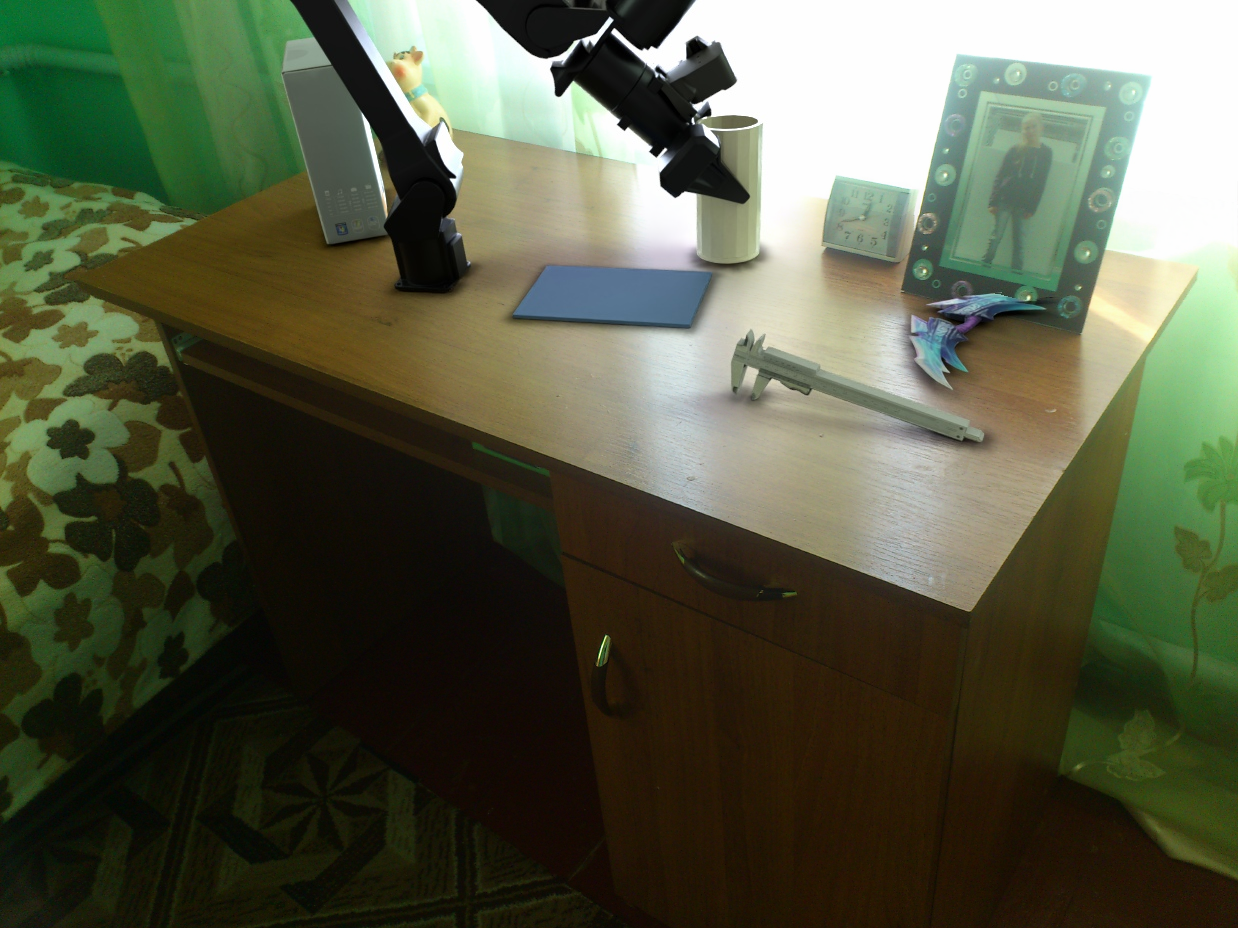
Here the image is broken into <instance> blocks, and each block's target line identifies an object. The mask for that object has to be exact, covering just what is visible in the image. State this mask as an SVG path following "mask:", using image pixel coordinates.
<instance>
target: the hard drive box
mask: <svg viewBox="0 0 1238 928" xmlns="http://www.w3.org/2000/svg"><path fill="white" fill-rule="evenodd" d="M280 74H281V79H282V83H283V87H284V90H285V95H286V98H287V102H288V104H289V108H290V109H289V110H290V112H291V116H292V120H293V124H294V127H295V131H296V135H297V138H298V142H299V146H300V149H301V153H302V157H303V161H304V165H305V168H306V171H307V176H308V180H309V182H310V183H309V184H310V187H311V190H312V194H313V198H314V201H315V205H316V209H317V213H318V217H319V220H320V225H321V227H322V231H323V234H324V238H325V241H326V244H327V245H335V244H340V243H346V242H351V241H358V240H364V239H369V238H375V237H381V236H382V237H383V236H387V235H388V234H387V232H386V230H385V229H384V223H385V221H386V218H387V216H388V214H389V213H388V207H387V199H386V192H385V186H384V182H383V177H382V174H381V170H380V166H379V161H378V156H377V151H376V148H375V142H374V139H373V135H372V132H371V126H370V125H369V123H368V122H367V120H366V118H365V117H364V115H363V114H362V112H361V110H360V109H359V107H358V106H357V104H356V103H355V101H354V99H353V98H352V96H351V95H350V93H349V91H348V90H347V88H346V87H345V85H344V84H343V82H342V80H341V79H340V77H339V76H338V74H337V73H336V71H335V69H334V68H333V66H332V65H331V63H330V61H329V60H328V58H327V57H326V55H325V54H324V52H323V50H322V49H321V47H320V46H319V44H318V42H317V41H316V39H315V38H314V36H312V37H305V38H299V39H292V40H287V41H286V43H285V45H284V51H283V57H282V63H281V69H280ZM388 236H389V235H388Z"/></svg>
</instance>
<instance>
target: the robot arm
mask: <svg viewBox="0 0 1238 928" xmlns="http://www.w3.org/2000/svg"><path fill="white" fill-rule="evenodd" d="M289 1H290V3H291V4H292V5H293V6H294V8H295V9H296V11H297V13H298V15H299V16H300V17H301V19H302V20H303V22H304V24H305V25H306V27H307V28H308V30H309V32H310V33H311V34H312V37H314V38H315V39H316V41H317V42H318V44H319V46H320V47H321V49H322V50H323V52H324V54H325V55H326V57H327V58H328V60H329V61H330V63H331V65H332V66H333V68H334V69H335V71H336V73H337V74H338V76H339V77H340V79H341V80H342V82H343V84H344V85H345V87H346V88H347V90H348V91H349V93H350V95H351V96H352V98H353V99H354V101H355V103H356V104H357V106H358V107H359V109H360V110H361V112H362V114H363V115H364V117H365V118H366V120H367V122H368V123H369V126H370V129H372V131H373V132H374V135H375V136H376V137H377V139H378V141H379V144H380V146H381V150H382V153H383V157H384V160H385V164H386V169H387V171H388V175H389V178H390V180H391V183H392V185H393V188H394V191H395V192H396V195H395V197H394V200H393V202H392V204H391V207H390V209H389V212H388V213H387V214H388V216H387V218H386V221H385V223H384V229H385V230H386V232H387V234H388V237H389V238H390V241H391V245H392V248H393V253H394V256H395V261H396V264H397V269H398V272H399V277H400V278H399V279H397V281H396V282H395V283H394V285H393V286H394V290H396V291H397V290H398V291H414V292H415V291H416V292H433V293H436V292H437V293H449V292H450V291H451V290H453V289H454V287H455V286H456V285H457V283H459V281H460V280H461V279H462V278H463V276H465V274H466V273H468V271H469V269H470V268H471V267H472V265H471V261H469V260H468V259H467V256H466V250H465V245H464V240H463V236H462V233H458V230H457V225H456V219H455V218H448V217H447V216H449V215H451V213H452V212H453V210H454V209H455V207H456V204H457V201H458V197H459V194H460V191H461V187H462V185H463V180H464V175H465V171H464V167H463V164H462V161H463V158H464V152H463V151H461V150H460V149H459V148H458V147H457V146H456V145H455V143H454V142H453V140H452V137H451V136H450V133H449V130H448V128H447V126H446V124H445V122H444V121H440V122H438V123H437V124H435V126H433V127H432V126H430V125H429V124H428V122H427V123H426V121H424V120H423V119H422V118H421V117H420V116H419V115H418V114H417V113H416V112H415V110H414V108H413V107H412V105H411V104H410V102H409V100H408V99H407V97H406V95H405V93H404V92H403V90H402V89H401V87H400V85H399V84H398V82H397V80H396V79H395V77H394V75H393V74H392V72H391V70H390V69H389V67H388V65H387V64H386V62H385V60H384V58H383V56H381V53H380V52H379V50H378V49H377V47H376V45H375V44H374V42H373V40H372V39H371V37H370V35H369V34H368V31H367V30H366V29H365V27H364V25H363V23H362V22H361V20H360V18H359V16H358V15H357V14H356V12H355V10H354V9H353V6H352V5H351V4H350V2H349V0H289ZM475 1H476V2H477V3H478V4H479V5H480V6H481V7H482V8H483V9H484V10H485V11H487V13H488V14H489V15H490V16H491V18H492V19H493V20H494V21H495V22H496V23H497V25H498V26H499V27H500V28H501V29H502V30H503V31H504V32H505V33H506V34H507V35H508V36H510V37H511V38H512V39H513V40H514V42H516V43H517V44H518V45H520V46H521V48H523V49H524V50H525V51H526V52H527V53H529V54H530V55H531V56H534V57H536V58H538V59H543V60H548V59H552V58H556V57H560V56H562V55H563V54H564V53H566V52H567V51H568V50H570V48H571V47H572V46H573V44H574V43H575V42H576V41H577V42H576V44H575V45H574V46H573V48H572V49H571V50H570V51H569V52H568V54H567V55H566V57H565V58H564V59H562V60H551V62H550V66H549V71H550V73H551V75H552V79H553V85H554V92H553V93H554V96H555V97H557V98H560V97H562V96H563V95H564V94H565V92H567V90H568V89H569V87H570V86H571V85H572V83H574V84H576V85H577V86H578V87H579V88H580V89H581V90H582V91H584V92H585V93H586V94H587V95H588V96H589V97H591V98H592V99H593V100H595V102H597V103H598V104H599V105H600V106H601V107H603V108H604V109H605V110H606V111H607V112H609V113H610V114H611V115H612V116H613V117H615V118H616V126H617V127H618V128H620V129H621V130H622V131H624V132H626V130H627V129H629V130H630V131H631V132H633V133H634V134H635V135H636V136H638V138H640V139H641V140H642V141H643V142H645V143H646V144H647V147H648V148H647V149H648V153H650V154H651V155H652V156H653V157H655V158H656V159H657V158H658V157H659V156H660V155H661V154H662V152H663V151H664V150H665V151H664V152H663V154H662V155H661V156H660V157H659V158H658V160H657V166H658V178H659V186H660V188H662V190H664V191H665V192H667V193H668V194H669V195H670V196H671V197H673V198H674V199H677V198H678V197H680V196H681V195H682V194H683V193H689V194H695V195H696V194H700V195H706V196H710V197H715V198H719V199H723V200H727V201H731V202H735V203H739V204H745V203H746V202H747V201H748V200H749V198H750V194H749V193H748V192H747V190H746V189H745V188H744V186H743V185H742V184H741V183H740V181H739V180H738V179H737V178H736V177H735V175H734V174H733V173H732V172H731V170H730V169H729V168H728V167H727V165H726V164H725V163H724V162H723V160H722V159H721V143H720V139H719V136H718V135H717V136H716V137H715V135H714V134H713V133H712V132H711V131H710V130H709V129H708V128H707V127H706V126H705V125H703V124H695V122H696V121H698V120H699V119H701V118H705V117H708V116H713V114H712V107H711V103H710V101H709V100H707V99H709V98H711V97H712V96H714V95H716V94H718V93H719V92H721V91H727V90H729V89H731V88H732V87H733V86H735V85H736V83H738V78H737V75H736V72H735V70H734V68H733V65H732V64H731V62H730V60H729V57H728V55H727V54H726V51H725V49H724V47H723V45H722V43H721V42H720V41H716V40H713V41H711V43H709V42H708V41H706V40H705V39H704V38H702V37H700V36H699V35H695V36H693V37H692V38H690V39H688V40H687V41H685V42H684V60H683V59H681V60H679V61H678V64H677V65H676V66H675V67H673V68H671V69H670V70H667V69H665V67H663V66H662V65H660V63H657V64H655V63H652V64H651V65H650V64H649V63H648V62H647V61H646V60H645V59H643V58H642V57H641V56H640V55H639V54H638V53H636V52H635V51H634V50H633V49H632V48H631V47H629V45H627V44H626V43H625V42H624V41H623V40H622V39H621V38H620V37H618V36H617V35H616V34H615V33H614V32H613V31H614V30H615V31H617V33H619V34H620V35H621V37H623V38H624V39H625V40H626V41H627V42H628V43H629V44H630V45H631V46H632V47H635V49H637V50H639V51H641V52H643V51H644V50H646V51H649V50H650V49H651V48H653V49H656V50H659V49H660V48H661V46H663V44H664V42H665V41H667V39H668V38H669V36H670V35H671V34H672V33H673V32H674V30H675V29H676V28H677V27H678V25H679V24H681V22H682V20H683V19H684V18H685V17H686V16H687V14H688V13H689V12H690V11H691V10H692V8H693V7H694V6H695V5H696V3H697V2H698V1H699V0H475ZM592 36H593V37H592ZM589 37H591V39H588V38H589ZM700 103H703V104H702V105H701V106H700V107H699V109H698V108H697V107H696V106H695V105H698V104H700Z"/></svg>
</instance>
